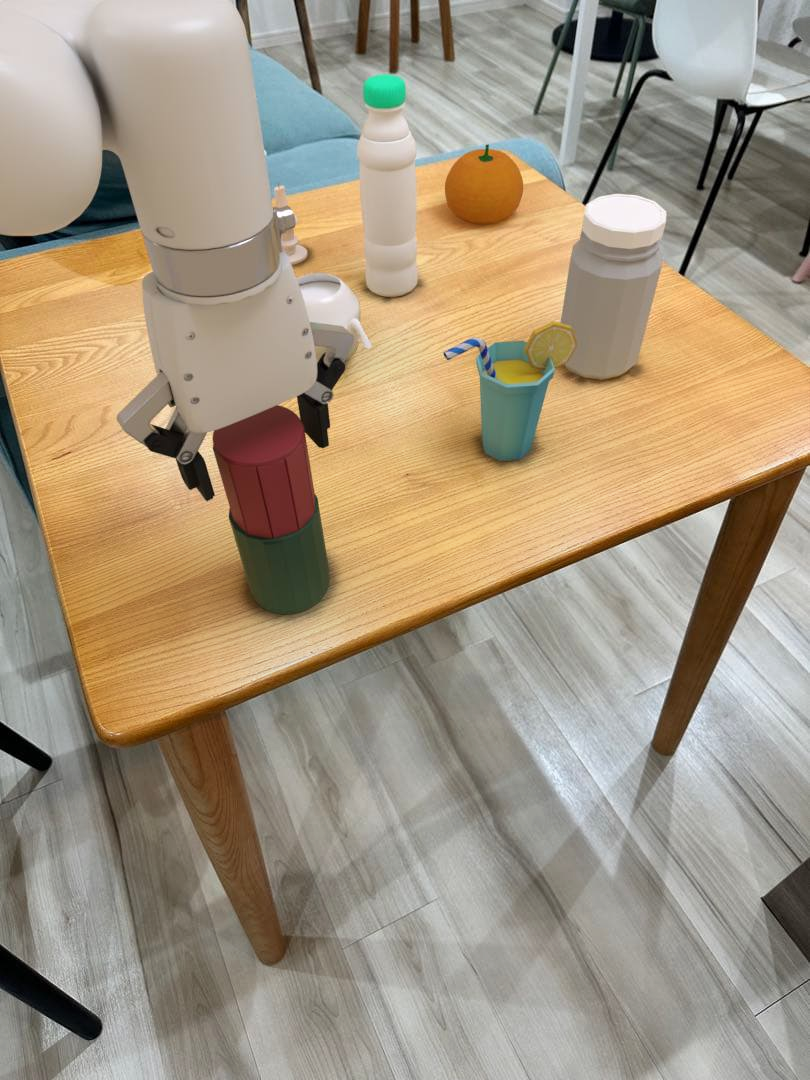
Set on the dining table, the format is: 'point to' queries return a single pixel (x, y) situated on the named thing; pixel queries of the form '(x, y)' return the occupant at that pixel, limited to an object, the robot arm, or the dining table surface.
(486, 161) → the fruit
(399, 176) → the water bottle
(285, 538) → the green bottle
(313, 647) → the dining table surface
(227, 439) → the grooved red cylinder
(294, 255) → the candle
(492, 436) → the cup
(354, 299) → the teapot
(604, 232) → the jar
